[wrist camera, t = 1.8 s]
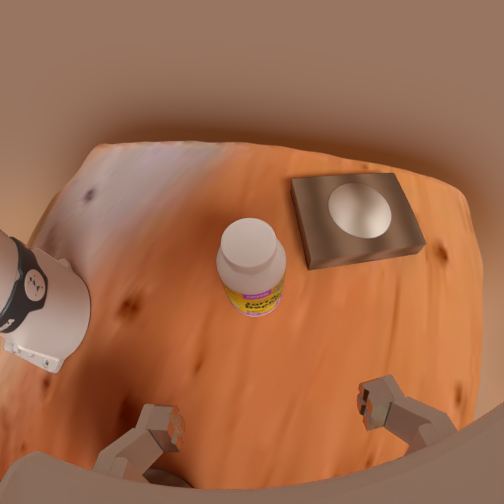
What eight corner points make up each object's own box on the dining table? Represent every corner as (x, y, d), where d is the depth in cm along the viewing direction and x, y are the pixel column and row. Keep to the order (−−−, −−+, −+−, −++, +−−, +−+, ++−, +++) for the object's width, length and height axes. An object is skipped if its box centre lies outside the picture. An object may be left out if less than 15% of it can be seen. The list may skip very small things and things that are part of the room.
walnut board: (308, 270, 35) (311, 259, 32) (290, 191, 41) (291, 177, 38) (417, 253, 35) (426, 242, 32) (388, 184, 41) (394, 171, 38)
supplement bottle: (244, 327, 32) (228, 293, 21) (220, 282, 35) (195, 229, 24) (292, 301, 33) (303, 253, 22) (266, 259, 36) (263, 197, 25)
